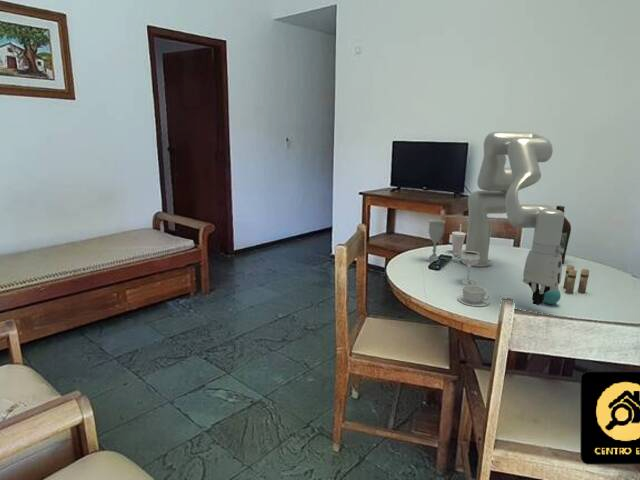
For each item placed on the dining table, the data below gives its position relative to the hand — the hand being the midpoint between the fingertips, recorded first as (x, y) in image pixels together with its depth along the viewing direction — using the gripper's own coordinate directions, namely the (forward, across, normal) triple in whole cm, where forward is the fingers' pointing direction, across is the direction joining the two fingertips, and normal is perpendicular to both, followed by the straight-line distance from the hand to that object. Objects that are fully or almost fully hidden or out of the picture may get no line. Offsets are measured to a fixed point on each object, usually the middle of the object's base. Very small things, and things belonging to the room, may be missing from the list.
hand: (537, 303), depth 137 cm
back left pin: (+2, +3, -30) cm, 30 cm away
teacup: (+3, +17, +10) cm, 20 cm away
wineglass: (+2, +28, -5) cm, 29 cm away
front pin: (+2, 0, -26) cm, 26 cm away
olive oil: (+2, +21, -61) cm, 64 cm away
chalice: (+2, +53, -17) cm, 56 cm away
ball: (-1, 0, -10) cm, 10 cm away
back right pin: (+2, -2, -30) cm, 30 cm away
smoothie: (+2, +55, -37) cm, 66 cm away
